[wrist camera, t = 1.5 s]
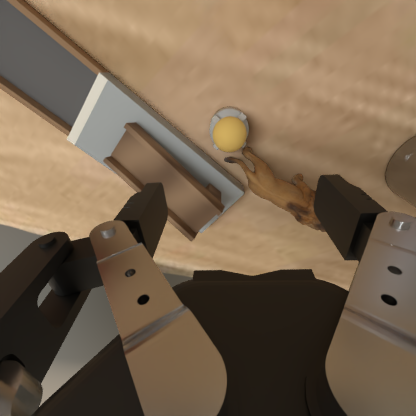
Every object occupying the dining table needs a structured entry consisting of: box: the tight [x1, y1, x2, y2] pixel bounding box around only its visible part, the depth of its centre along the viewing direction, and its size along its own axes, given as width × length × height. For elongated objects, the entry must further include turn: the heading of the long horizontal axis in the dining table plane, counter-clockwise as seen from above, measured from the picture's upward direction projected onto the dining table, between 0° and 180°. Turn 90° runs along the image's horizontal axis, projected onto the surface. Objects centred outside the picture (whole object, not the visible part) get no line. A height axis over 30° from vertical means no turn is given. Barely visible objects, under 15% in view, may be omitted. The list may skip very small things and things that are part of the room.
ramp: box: [103, 122, 225, 241], centre depth 26 cm, size 14×6×5 cm, turn 50°
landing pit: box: [0, 0, 108, 136], centre depth 23 cm, size 14×9×4 cm, turn 50°
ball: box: [213, 116, 247, 152], centre depth 23 cm, size 4×4×4 cm
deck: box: [67, 72, 244, 233], centre depth 29 cm, size 21×9×2 cm, turn 50°
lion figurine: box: [224, 147, 326, 232], centre depth 26 cm, size 15×5×9 cm, turn 72°
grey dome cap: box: [210, 107, 249, 150], centre depth 26 cm, size 5×5×3 cm
